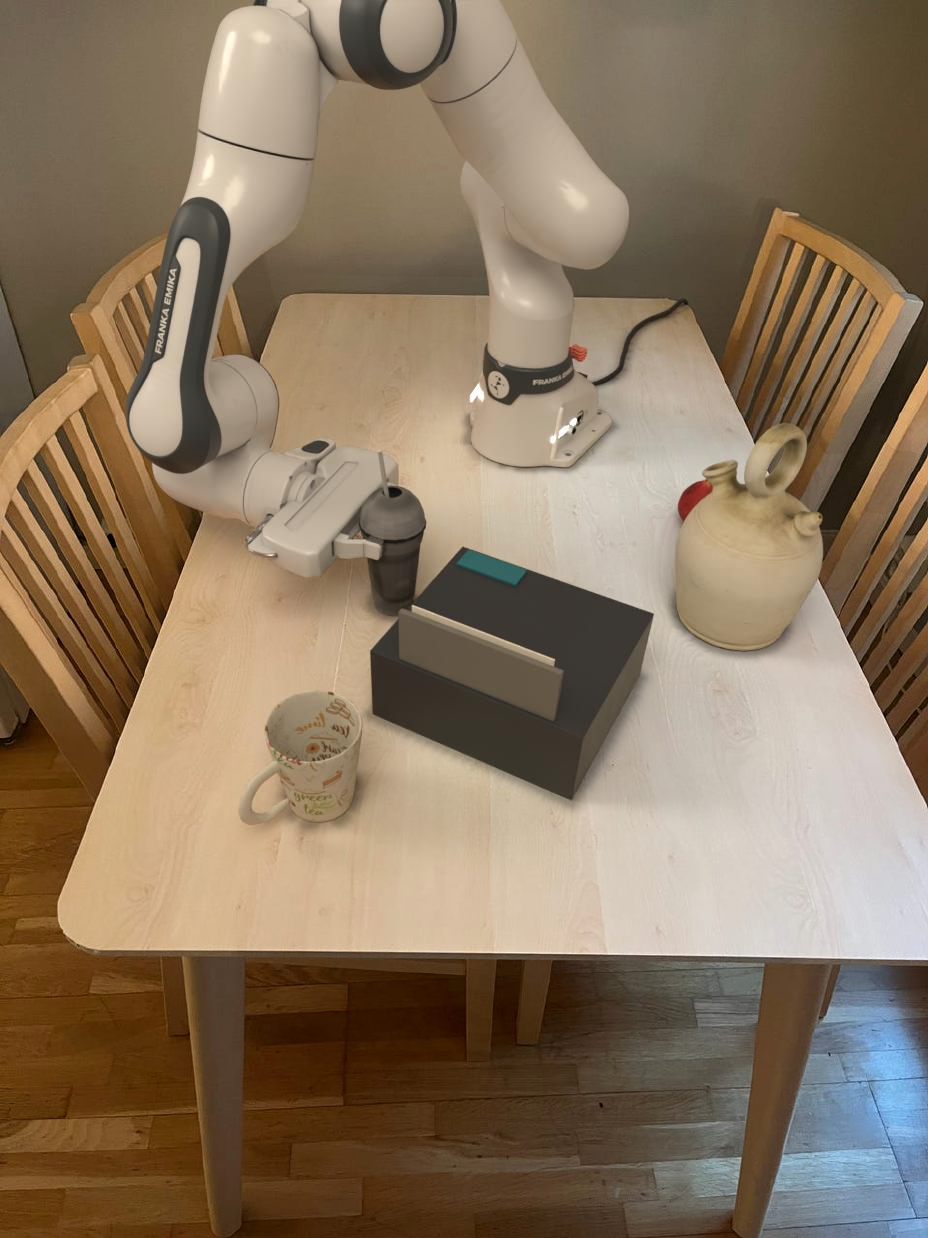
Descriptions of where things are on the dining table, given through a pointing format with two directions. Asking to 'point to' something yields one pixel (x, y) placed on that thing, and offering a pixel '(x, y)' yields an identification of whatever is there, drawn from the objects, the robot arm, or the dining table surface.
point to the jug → (749, 549)
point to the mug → (309, 757)
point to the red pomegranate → (693, 497)
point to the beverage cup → (393, 544)
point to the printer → (510, 668)
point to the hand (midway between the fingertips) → (400, 528)
